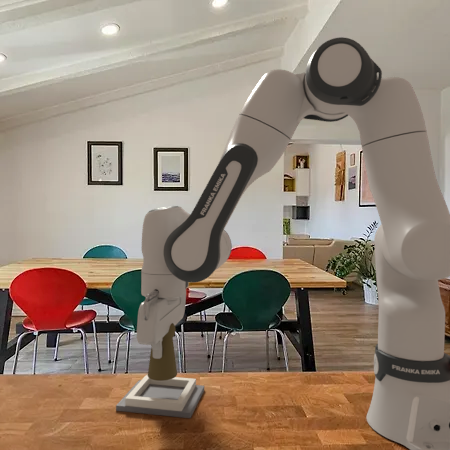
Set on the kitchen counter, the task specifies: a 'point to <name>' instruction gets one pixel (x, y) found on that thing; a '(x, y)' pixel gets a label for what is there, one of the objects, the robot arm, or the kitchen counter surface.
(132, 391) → the notch board
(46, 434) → the kitchen counter surface
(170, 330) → the olive knobbed peg
